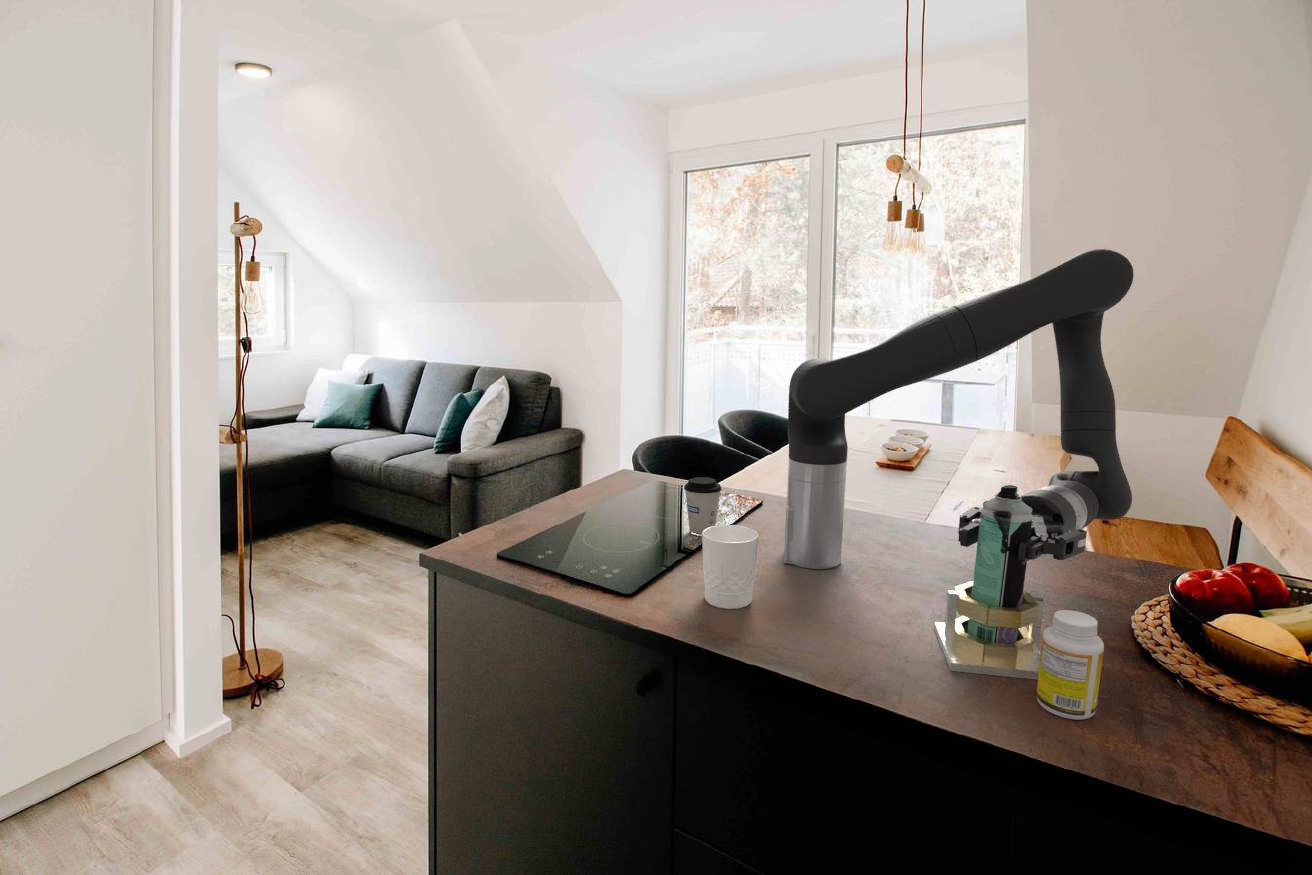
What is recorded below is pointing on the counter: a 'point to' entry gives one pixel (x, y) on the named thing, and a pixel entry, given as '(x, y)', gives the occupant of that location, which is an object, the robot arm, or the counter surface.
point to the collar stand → (991, 656)
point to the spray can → (1000, 560)
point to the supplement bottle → (1070, 666)
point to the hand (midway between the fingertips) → (992, 545)
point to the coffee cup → (702, 503)
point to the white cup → (729, 565)
